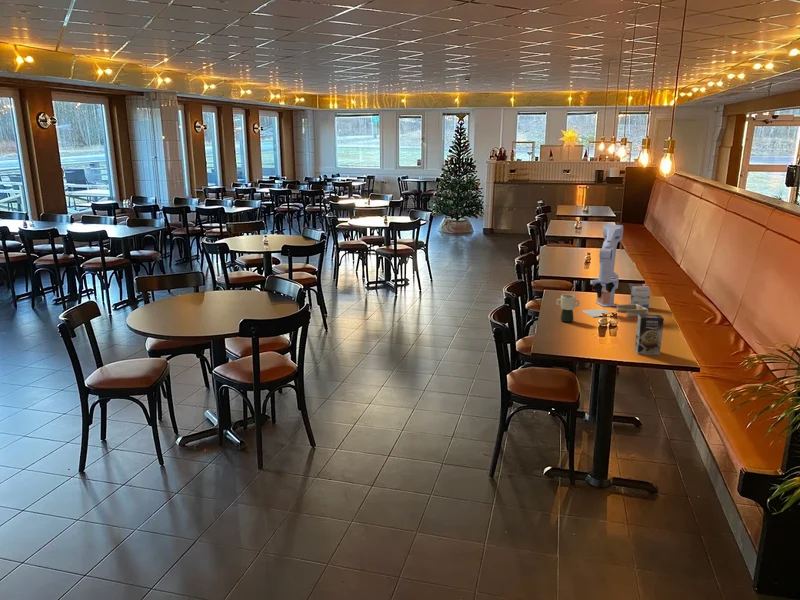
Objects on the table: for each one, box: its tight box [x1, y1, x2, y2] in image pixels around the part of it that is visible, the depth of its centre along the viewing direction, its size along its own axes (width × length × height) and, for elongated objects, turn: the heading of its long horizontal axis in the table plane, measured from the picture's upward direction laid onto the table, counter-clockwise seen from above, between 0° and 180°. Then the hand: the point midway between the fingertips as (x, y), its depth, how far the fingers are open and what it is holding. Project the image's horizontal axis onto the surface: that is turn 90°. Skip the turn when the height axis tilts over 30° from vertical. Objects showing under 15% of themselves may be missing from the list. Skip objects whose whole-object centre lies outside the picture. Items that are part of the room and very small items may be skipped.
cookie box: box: [634, 313, 665, 356], centre depth 251 cm, size 9×6×16 cm
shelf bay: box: [616, 303, 649, 318], centre depth 312 cm, size 11×11×4 cm
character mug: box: [556, 294, 581, 323], centre depth 298 cm, size 11×7×13 cm, turn 71°
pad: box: [582, 308, 611, 318], centre depth 313 cm, size 12×12×1 cm
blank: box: [596, 290, 611, 304], centre depth 310 cm, size 6×4×6 cm, turn 10°
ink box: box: [629, 285, 651, 310], centre depth 322 cm, size 8×5×12 cm, turn 84°
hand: (603, 297), depth 310 cm, fingers closed on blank, 4 cm apart
